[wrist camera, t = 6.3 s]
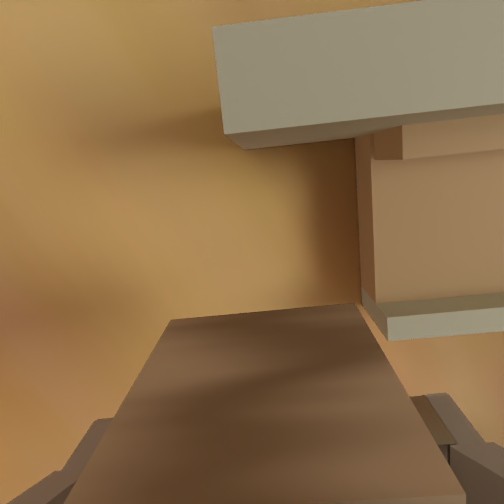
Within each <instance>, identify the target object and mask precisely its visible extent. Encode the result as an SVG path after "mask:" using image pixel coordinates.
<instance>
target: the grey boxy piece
mask: <svg viewBox="0 0 504 504" xmlns="http://www.w3.org/2000/svg"><path fill="white" fill-rule="evenodd" d="M212 34H213V43H214V51H215V60H216V69H217V77H218V86H219V94H220V103H221V111H222V120H223V129H224V135H226V136H227V137H228V138H229V139H231V140H232V141H233V142H235V143H236V144H237V145H238V146H240V147H241V148H242V149H243V150H248V149H257V148H266V147H275V146H284V145H294V144H303V143H312V142H321V141H330V140H339V139H348V138H355V160H356V182H357V205H358V227H359V249H360V272H361V294H362V306H363V307H364V308H365V310H366V311H367V313H368V314H369V315H370V317H371V318H372V320H373V321H374V322H375V324H376V325H377V327H378V328H379V329H380V331H381V332H382V334H383V335H384V336H385V338H386V339H387V341H397V340H408V339H420V338H431V337H443V336H454V335H466V334H477V333H489V332H500V331H504V0H422V1H414V2H406V3H398V4H390V5H381V6H373V7H365V8H357V9H349V10H341V11H333V12H325V13H317V14H309V15H301V16H293V17H285V18H277V19H269V20H261V21H253V22H244V23H236V24H228V25H220V26H212Z"/></svg>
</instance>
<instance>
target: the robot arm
mask: <svg viewBox="0 0 504 504" xmlns="http://www.w3.org/2000/svg"><path fill="white" fill-rule="evenodd" d="M410 399H411V401H412V402H413V404H414V406H415V407H416V409H417V411H418V413H419V414H420V416H421V418H422V419H423V421H424V423H425V425H426V426H427V428H428V430H429V431H430V433H431V435H432V437H433V438H434V440H435V442H436V443H437V445H438V447H439V449H440V450H441V452H442V454H443V455H444V457H445V459H446V461H447V462H448V464H449V466H450V467H451V469H452V471H453V473H454V474H455V476H456V478H457V479H458V481H459V483H460V485H461V486H462V488H463V490H464V491H465V493H466V504H504V448H503V447H501V446H499V445H497V444H495V443H493V442H491V443H486V442H485V441H484V440H483V439H482V437H481V436H480V435H479V433H478V432H477V431H476V429H475V428H474V427H473V425H472V424H471V423H470V422H469V420H468V419H467V418H466V416H465V415H464V414H463V412H462V411H461V410H460V408H459V407H458V406H457V405H456V403H455V402H454V401H453V399H452V398H451V397H450V395H448V394H447V393H437V394H428V395H423V396H413V397H410ZM112 420H113V418H105V419H98V420H96V421H94V422H93V423H92V425H91V426H90V428H89V429H88V431H87V433H86V434H85V436H84V437H83V439H82V440H81V442H80V443H79V445H78V446H77V448H76V449H75V451H74V452H73V454H72V455H71V457H70V458H69V460H68V461H67V463H66V464H65V466H64V467H63V469H62V470H61V471H54V472H53V473H51V474H50V475H48V476H47V477H45V478H44V479H42V480H41V481H40V482H38V483H37V484H35V485H34V486H32V487H31V488H29V489H28V490H26V491H25V492H23V493H22V494H20V495H19V496H18V497H16V498H15V499H13V500H12V501H10V502H9V503H7V504H63V503H64V502H65V500H66V498H67V497H68V495H69V493H70V491H71V490H72V488H73V486H74V485H75V483H76V481H77V479H78V478H79V476H80V474H81V473H82V471H83V469H84V467H85V466H86V464H87V462H88V461H89V459H90V457H91V456H92V454H93V452H94V450H95V449H96V447H97V445H98V444H99V442H100V440H101V438H102V437H103V435H104V433H105V432H106V430H107V428H108V426H109V425H110V423H111V421H112Z"/></svg>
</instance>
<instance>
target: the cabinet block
mask: <svg viewBox="0 0 504 504" xmlns="http://www.w3.org/2000/svg"><path fill="white" fill-rule="evenodd" d="M63 504H466V493H465V491H464V490H463V488H462V486H461V485H460V483H459V481H458V479H457V478H456V476H455V474H454V473H453V471H452V469H451V467H450V466H449V464H448V462H447V461H446V459H445V457H444V455H443V454H442V452H441V450H440V449H439V447H438V445H437V443H436V442H435V440H434V438H433V437H432V435H431V433H430V431H429V430H428V428H427V426H426V425H425V423H424V421H423V419H422V418H421V416H420V414H419V413H418V411H417V409H416V407H415V406H414V404H413V402H412V401H411V399H410V397H409V395H408V394H407V392H406V390H405V389H404V387H403V385H402V383H401V382H400V380H399V378H398V377H397V375H396V373H395V371H394V370H393V368H392V366H391V365H390V363H389V361H388V359H387V358H386V356H385V354H384V353H383V351H382V349H381V347H380V346H379V344H378V342H377V341H376V339H375V337H374V335H373V334H372V332H371V330H370V329H369V327H368V325H367V323H366V322H365V320H364V318H363V317H362V315H361V313H360V311H359V310H358V308H357V306H356V305H355V303H347V304H337V305H326V306H315V307H304V308H293V309H283V310H272V311H261V312H250V313H239V314H229V315H218V316H207V317H196V318H185V319H175V320H170V322H169V324H168V326H167V327H166V329H165V331H164V332H163V334H162V336H161V337H160V339H159V341H158V343H157V344H156V346H155V348H154V349H153V351H152V353H151V355H150V356H149V358H148V360H147V361H146V363H145V365H144V367H143V368H142V370H141V372H140V373H139V375H138V377H137V379H136V380H135V382H134V384H133V385H132V387H131V389H130V391H129V392H128V394H127V396H126V397H125V399H124V401H123V402H122V404H121V406H120V408H119V409H118V411H117V413H116V414H115V416H114V418H113V420H112V421H111V423H110V425H109V426H108V428H107V430H106V432H105V433H104V435H103V437H102V438H101V440H100V442H99V444H98V445H97V447H96V449H95V450H94V452H93V454H92V456H91V457H90V459H89V461H88V462H87V464H86V466H85V467H84V469H83V471H82V473H81V474H80V476H79V478H78V479H77V481H76V483H75V485H74V486H73V488H72V490H71V491H70V493H69V495H68V497H67V498H66V500H65V502H64V503H63Z"/></svg>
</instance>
